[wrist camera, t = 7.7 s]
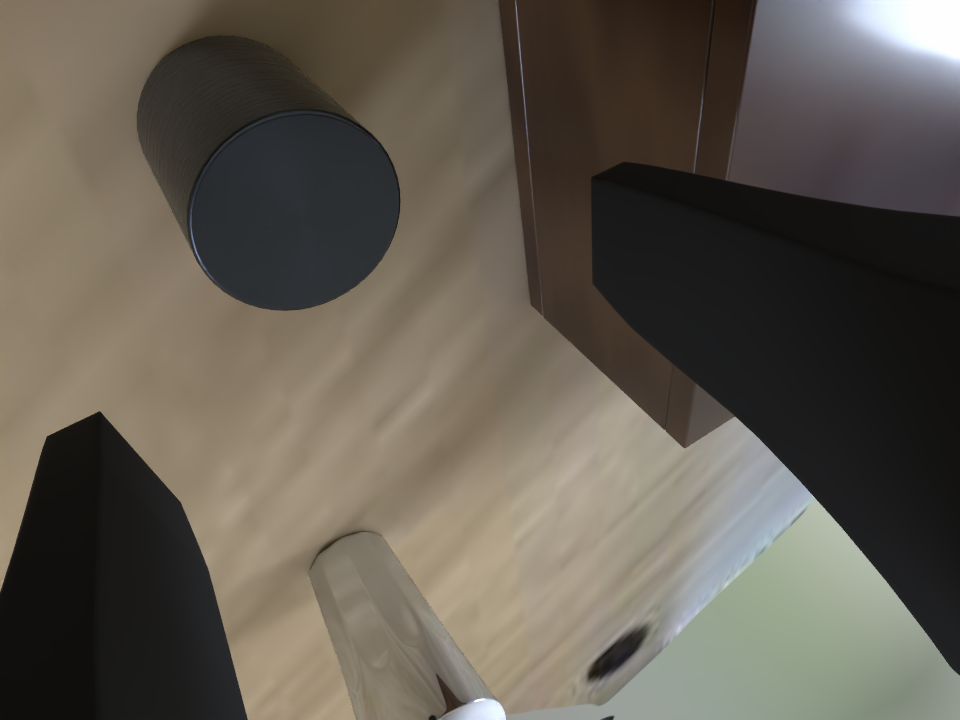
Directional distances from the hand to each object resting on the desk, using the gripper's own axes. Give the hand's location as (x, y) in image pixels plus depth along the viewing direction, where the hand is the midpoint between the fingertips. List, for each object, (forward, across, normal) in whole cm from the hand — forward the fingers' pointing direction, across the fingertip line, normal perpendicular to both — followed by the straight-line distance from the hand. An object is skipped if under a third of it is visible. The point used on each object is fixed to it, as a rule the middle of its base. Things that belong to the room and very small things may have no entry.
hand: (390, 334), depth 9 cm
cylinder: (+8, 0, 0) cm, 8 cm away
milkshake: (+8, +3, +18) cm, 20 cm away
